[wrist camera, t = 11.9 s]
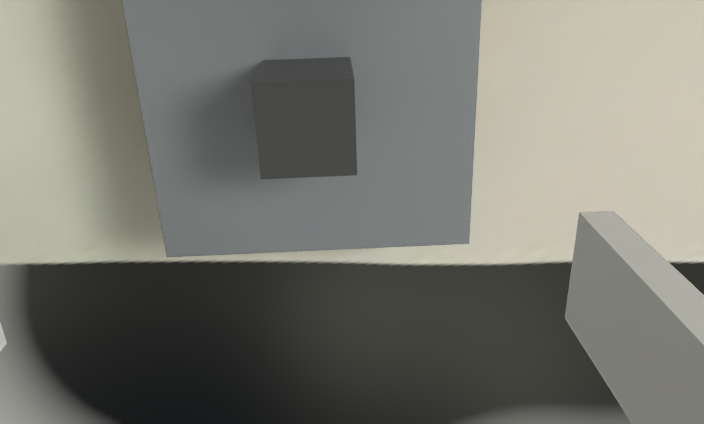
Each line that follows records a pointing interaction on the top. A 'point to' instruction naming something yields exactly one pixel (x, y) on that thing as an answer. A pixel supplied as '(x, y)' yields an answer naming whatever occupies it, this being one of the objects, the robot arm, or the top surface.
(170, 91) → the cover sheet
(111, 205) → the top surface
